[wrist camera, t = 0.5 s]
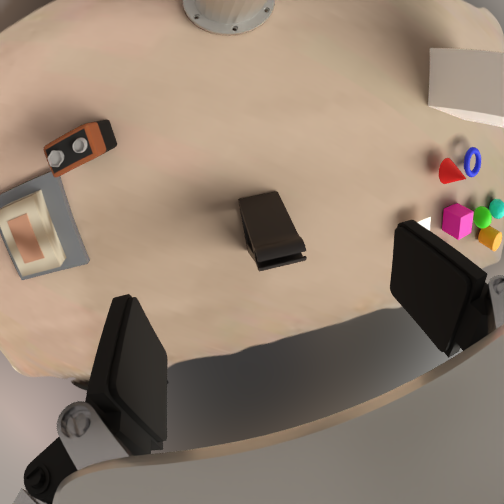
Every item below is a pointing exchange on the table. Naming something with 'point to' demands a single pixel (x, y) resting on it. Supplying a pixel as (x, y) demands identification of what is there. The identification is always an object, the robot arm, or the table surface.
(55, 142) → the battery
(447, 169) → the shape set
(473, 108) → the milk
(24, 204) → the plinth
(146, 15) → the table surface
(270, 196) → the phone stand
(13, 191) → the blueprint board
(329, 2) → the table surface
